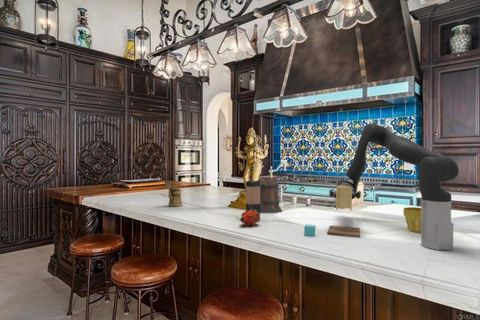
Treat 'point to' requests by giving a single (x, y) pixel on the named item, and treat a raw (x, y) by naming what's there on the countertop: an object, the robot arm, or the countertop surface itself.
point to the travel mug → (253, 196)
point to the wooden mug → (173, 195)
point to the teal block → (309, 230)
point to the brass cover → (344, 197)
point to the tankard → (269, 195)
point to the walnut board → (344, 231)
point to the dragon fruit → (250, 217)
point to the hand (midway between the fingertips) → (344, 196)
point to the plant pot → (413, 218)
